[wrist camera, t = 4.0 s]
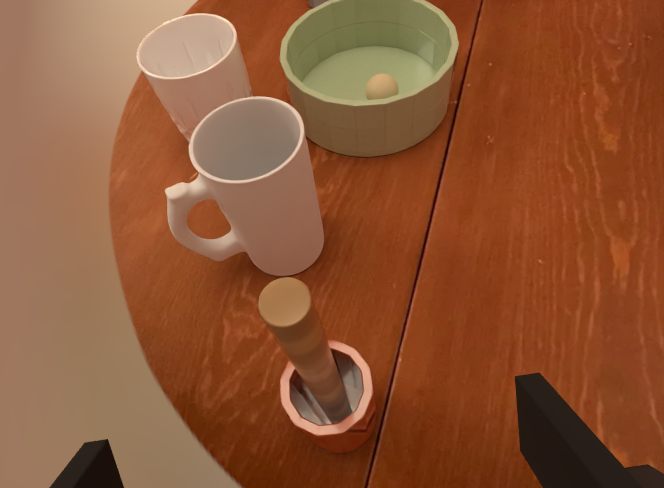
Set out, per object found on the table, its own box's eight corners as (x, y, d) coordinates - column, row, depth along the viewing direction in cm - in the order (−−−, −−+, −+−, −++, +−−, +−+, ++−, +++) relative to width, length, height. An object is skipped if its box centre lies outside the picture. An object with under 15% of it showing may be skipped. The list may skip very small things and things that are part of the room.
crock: (291, 406, 29) (262, 375, 23) (347, 364, 30) (336, 323, 24) (332, 469, 27) (313, 456, 20) (390, 422, 28) (391, 395, 21)
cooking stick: (322, 409, 29) (247, 296, 13) (342, 394, 29) (292, 266, 14) (336, 431, 28) (275, 337, 12) (357, 415, 28) (322, 305, 13)
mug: (302, 195, 38) (272, 80, 28) (343, 251, 35) (326, 145, 25) (196, 252, 36) (121, 152, 26) (228, 318, 33) (158, 233, 23)
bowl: (264, 94, 45) (248, 41, 40) (381, 29, 49) (381, -28, 44) (353, 184, 38) (348, 134, 33) (483, 101, 42) (497, 44, 36)
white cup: (250, 97, 45) (218, 1, 37) (278, 147, 41) (250, 53, 33) (177, 126, 44) (126, 35, 36) (198, 180, 40) (148, 93, 32)
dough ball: (359, 102, 42) (358, 76, 40) (384, 88, 43) (384, 61, 40) (379, 119, 41) (379, 93, 38) (404, 104, 42) (406, 78, 39)
